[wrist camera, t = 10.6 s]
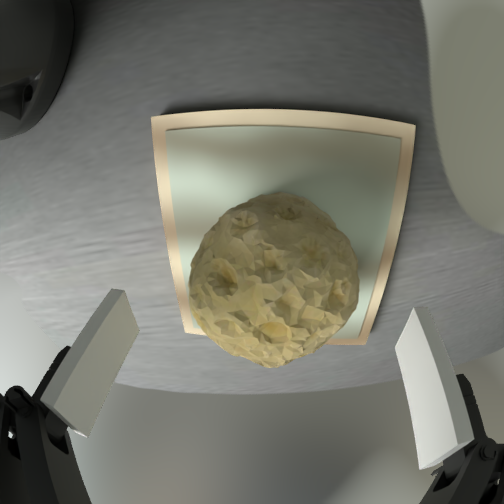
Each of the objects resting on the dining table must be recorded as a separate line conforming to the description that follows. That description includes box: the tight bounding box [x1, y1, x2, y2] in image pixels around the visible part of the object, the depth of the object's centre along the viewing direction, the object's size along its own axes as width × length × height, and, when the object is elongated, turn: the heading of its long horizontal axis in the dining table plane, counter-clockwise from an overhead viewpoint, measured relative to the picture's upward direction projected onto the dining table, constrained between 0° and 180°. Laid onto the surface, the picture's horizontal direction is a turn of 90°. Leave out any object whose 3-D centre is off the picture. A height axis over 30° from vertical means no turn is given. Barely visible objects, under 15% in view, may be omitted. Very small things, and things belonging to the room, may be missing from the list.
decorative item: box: [188, 192, 360, 368], centre depth 16 cm, size 10×10×10 cm
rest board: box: [151, 109, 416, 345], centre depth 19 cm, size 18×16×1 cm
